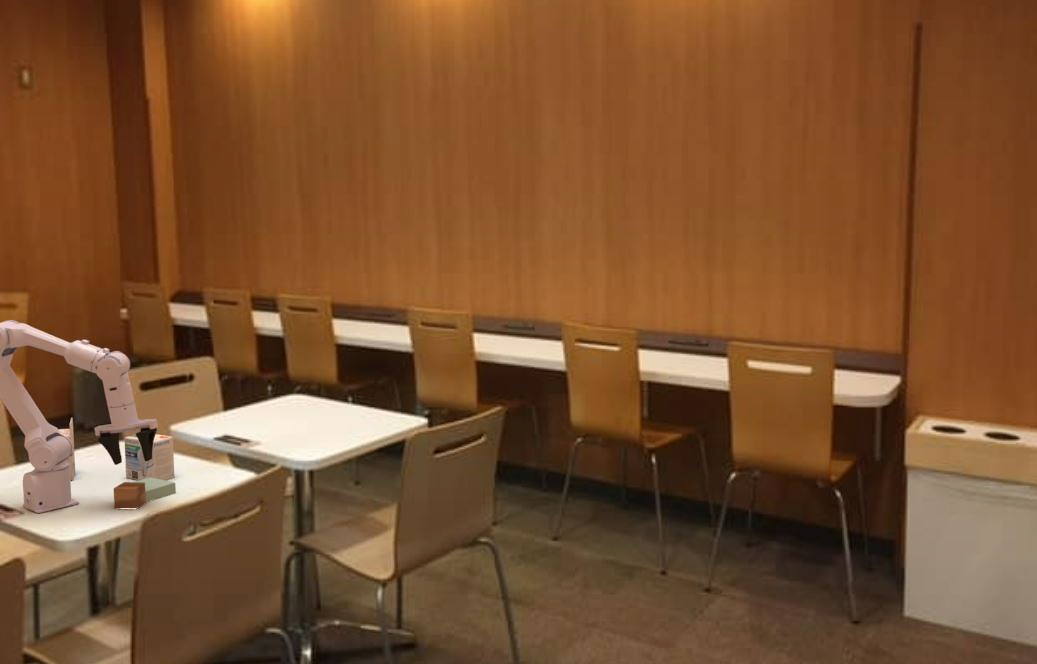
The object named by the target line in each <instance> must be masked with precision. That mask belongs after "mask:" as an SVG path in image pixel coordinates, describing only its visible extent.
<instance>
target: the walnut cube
mask: <svg viewBox="0 0 1037 664" xmlns="http://www.w3.org/2000/svg"><path fill="white" fill-rule="evenodd" d="M113 501H114V502H113V503H114V507H113V508H114V509H115V508H137V507H139V506H141V505H142V506H143V504H144V503H145V504H147V502H146V492H145V483H142V482H135V481H124V482H122V483H119V484H118V485H117V486H115V487H114V488H113ZM145 504H144V505H145ZM142 506H141V507H142ZM139 508H140V507H139Z"/></svg>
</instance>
